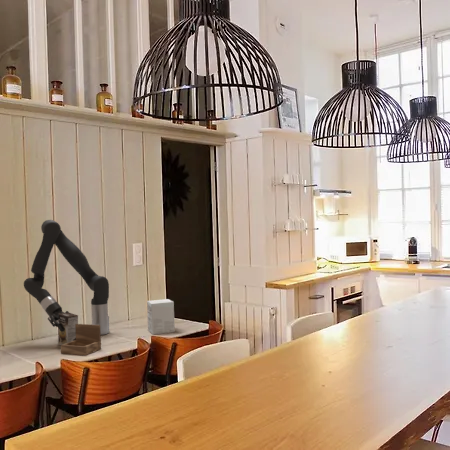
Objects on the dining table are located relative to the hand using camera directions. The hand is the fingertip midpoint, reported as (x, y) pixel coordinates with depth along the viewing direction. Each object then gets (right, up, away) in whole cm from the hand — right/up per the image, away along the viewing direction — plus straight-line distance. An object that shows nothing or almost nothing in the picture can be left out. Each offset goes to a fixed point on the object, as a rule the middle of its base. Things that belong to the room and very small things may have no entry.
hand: (69, 329), depth 255 cm
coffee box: (-1, -8, 0) cm, 9 cm away
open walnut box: (+10, -8, -13) cm, 19 cm away
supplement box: (+44, -7, +28) cm, 53 cm away
